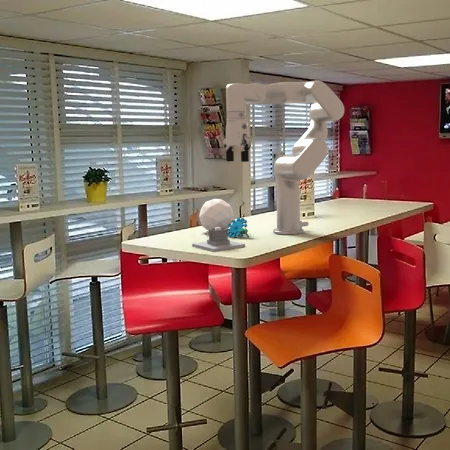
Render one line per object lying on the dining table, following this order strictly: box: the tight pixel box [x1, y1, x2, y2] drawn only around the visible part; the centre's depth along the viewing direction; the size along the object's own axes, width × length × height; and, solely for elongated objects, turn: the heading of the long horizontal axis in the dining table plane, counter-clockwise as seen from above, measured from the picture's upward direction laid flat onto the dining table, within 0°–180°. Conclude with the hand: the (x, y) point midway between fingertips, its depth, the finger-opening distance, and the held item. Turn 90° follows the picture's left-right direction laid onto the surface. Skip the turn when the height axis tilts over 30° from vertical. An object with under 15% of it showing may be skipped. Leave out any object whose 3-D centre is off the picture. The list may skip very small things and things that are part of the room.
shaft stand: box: [191, 227, 246, 252], centre depth 217 cm, size 14×14×7 cm
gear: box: [227, 217, 250, 239], centre depth 239 cm, size 11×6×10 cm
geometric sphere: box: [198, 198, 234, 232], centre depth 251 cm, size 14×15×15 cm
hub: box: [208, 228, 229, 241], centre depth 217 cm, size 7×7×4 cm
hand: (237, 161), depth 230 cm, fingers open, 9 cm apart
